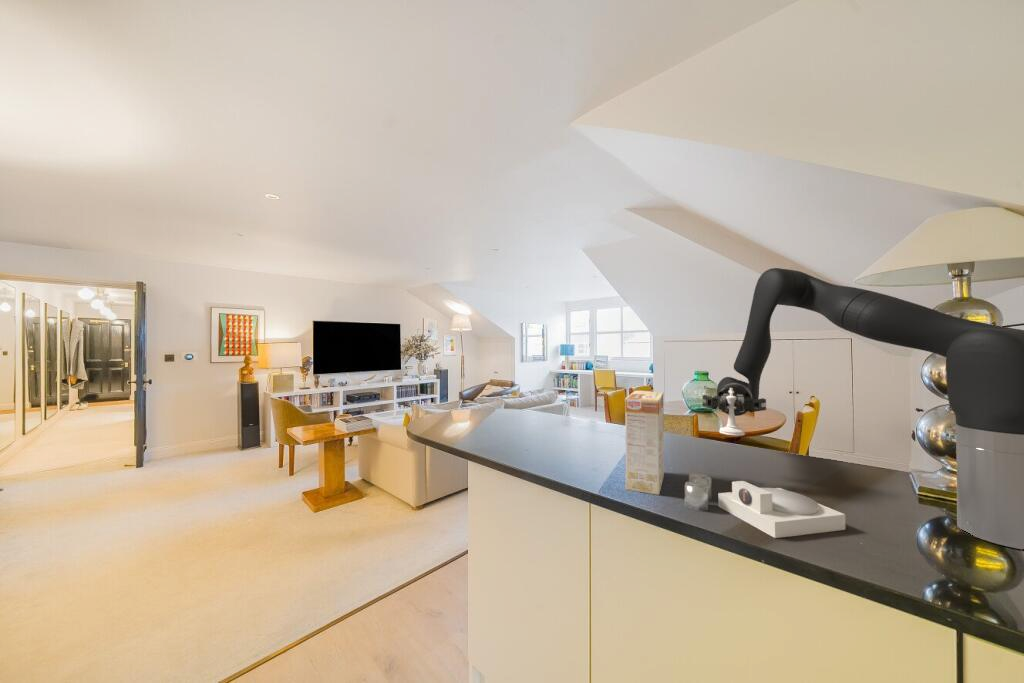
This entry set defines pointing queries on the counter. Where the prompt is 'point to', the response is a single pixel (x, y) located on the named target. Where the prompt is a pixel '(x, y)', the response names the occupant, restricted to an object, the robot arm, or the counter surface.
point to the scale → (779, 511)
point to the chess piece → (731, 418)
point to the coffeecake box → (644, 441)
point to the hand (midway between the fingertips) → (730, 407)
